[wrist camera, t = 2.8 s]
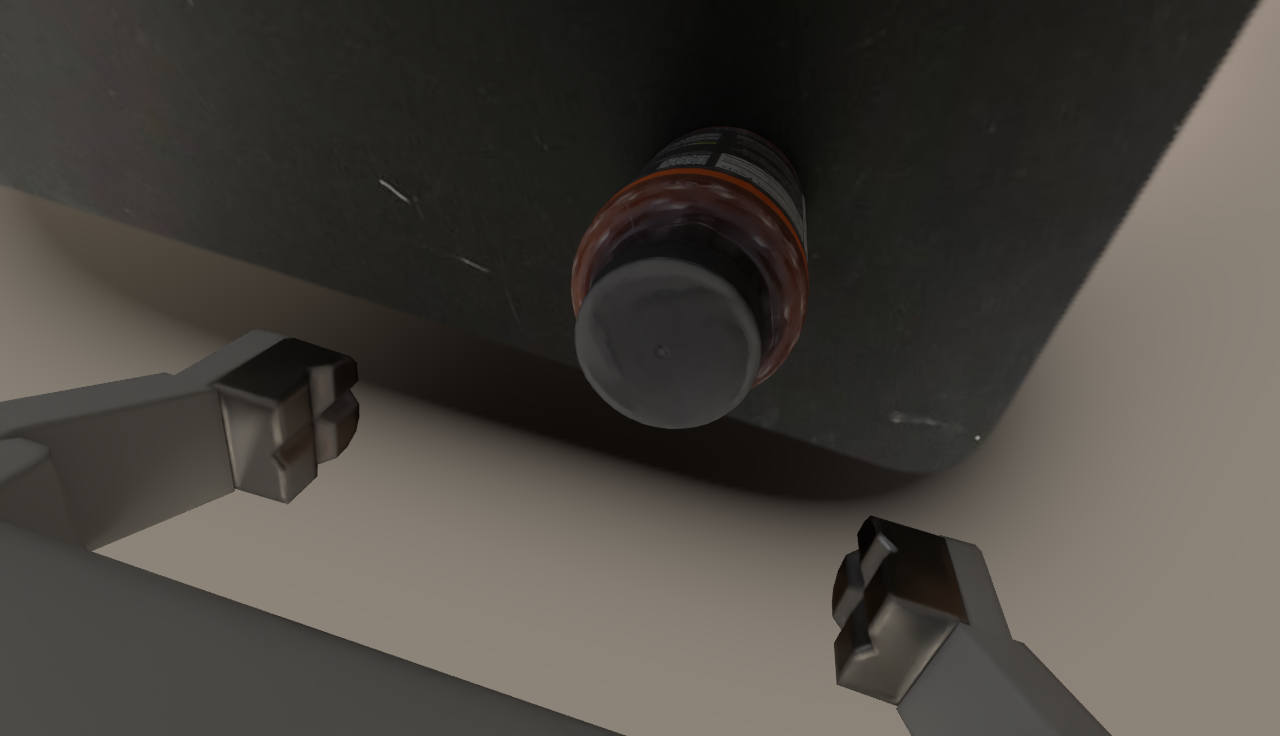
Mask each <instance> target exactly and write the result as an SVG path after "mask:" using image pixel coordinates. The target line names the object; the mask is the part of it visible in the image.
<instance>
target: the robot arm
mask: <svg viewBox="0 0 1280 736" xmlns="http://www.w3.org/2000/svg"><path fill="white" fill-rule="evenodd" d="M357 381H358V371H357V363H356V361H354V360H353V359H352V358H351V357H350V356H347V355H344V354H341V353H338V352H335V351H332V350H329V349H326V348H323V347H320V346H317V345H314V344H311V343H308V342H305V341H302V340H299V339H296V338H291V337H289V336H286V335H282V334H279V333H276V332H273V331H270V330H267V329H258V330H257V329H255V330H253V331H252V332H249V333H248V334H246V335H244V336H243V337H241V338H239V339H237V340H235V341H234V342H232V343H230V344H228V345H227V346H225V347H223V348H221V349H220V350H218V351H216V352H214V353H213V354H211V355H209V356H207V357H206V358H204V359H203V360H200V361H199V362H197V363H195V364H194V365H192V366H190V367H188V368H186V369H185V370H183V371H181V372H180V373H178V374H176V375H171V374H168V373H160V374H154V375H148V376H143V377H137V378H132V379H126V380H121V381H115V382H109V383H104V384H98V385H93V386H87V387H81V388H76V389H70V390H65V391H59V392H54V393H48V394H42V395H37V396H31V397H25V398H20V399H14V400H9V401H3V402H0V736H625V735H622V734H619V733H617V732H613V731H611V730H608V729H605V728H602V727H599V726H596V725H593V724H590V723H587V722H584V721H582V720H579V719H575V718H573V717H570V716H567V715H564V714H561V713H558V712H555V711H552V710H550V709H547V708H544V707H541V706H538V705H535V704H532V703H529V702H526V701H523V700H521V699H517V698H515V697H512V696H509V695H506V694H503V693H500V692H497V691H494V690H492V689H489V688H486V687H483V686H480V685H477V684H474V683H471V682H468V681H465V680H462V679H460V678H457V677H454V676H451V675H448V674H445V673H442V672H439V671H437V670H434V669H431V668H428V667H424V666H422V665H419V664H416V663H413V662H410V661H408V660H404V659H402V658H399V657H396V656H393V655H390V654H387V653H384V652H382V651H379V650H376V649H373V648H369V647H367V646H364V645H361V644H358V643H356V642H353V641H349V640H347V639H344V638H341V637H338V636H335V635H332V634H329V633H327V632H324V631H321V630H318V629H315V628H312V627H309V626H306V625H303V624H300V623H298V622H294V621H292V620H289V619H286V618H283V617H280V616H277V615H274V614H271V613H268V612H266V611H263V610H260V609H257V608H254V607H251V606H248V605H245V604H242V603H239V602H237V601H233V600H231V599H228V598H225V597H222V596H219V595H216V594H213V593H210V592H207V591H205V590H202V589H199V588H196V587H193V586H190V585H187V584H184V583H181V582H178V581H176V580H172V579H170V578H167V577H164V576H161V575H158V574H155V573H152V572H149V571H147V570H144V569H141V568H138V567H134V566H132V565H129V564H126V563H123V562H120V561H117V560H114V559H112V558H109V557H106V556H103V555H100V554H97V553H94V552H91V551H93V550H95V549H98V548H100V547H103V546H105V545H107V544H110V543H112V542H114V541H117V540H119V539H121V538H124V537H127V536H129V535H131V534H133V533H136V532H138V531H141V530H143V529H146V528H148V527H150V526H153V525H155V524H158V523H160V522H162V521H165V520H167V519H170V518H172V517H174V516H177V515H179V514H181V513H184V512H186V511H189V510H191V509H194V508H196V507H198V506H201V505H203V504H205V503H208V502H210V501H213V500H215V499H218V498H220V497H222V496H225V495H227V494H229V493H232V492H234V491H235V489H238V490H242V491H245V492H248V493H252V494H255V495H259V496H262V497H265V498H268V499H272V500H275V501H279V502H282V503H286V504H289V503H290V502H291V501H292V500H293V499H294V498H295V497H296V496H297V495H298V494H299V493H300V492H301V491H302V490H303V489H304V488H306V487H307V486H308V485H309V484H310V483H311V482H312V481H313V480H314V479H315V478H316V477H317V468H318V464H320V463H323V462H326V461H329V460H332V459H335V458H337V457H338V456H339V455H340V454H341V453H342V452H343V451H344V450H345V449H346V448H347V447H348V445H349V442H350V441H351V439H352V438H353V435H354V434H355V432H356V429H357V425H358V421H359V403H358V401H357V400H356V398H355V397H354V395H353V393H352V392H351V390H350V389H351V388H352V387H353V386H354V384H356V383H357ZM234 488H235V489H234ZM857 536H858V547H859V549H858V550H856V551H854V552H851V553H849V554H847V555H846V556H845V558H844V560H843V562H842V564H841V566H840V568H839V570H838V573H837V577H836V580H835V584H834V587H833V596H832V615H833V618H834V620H835V621H836V623H837V624H838V626H839V627H840V628H841V632H840V633H839V635H838V637H837V639H836V640H835V642H834V650H835V665H836V681H837V685H840V686H843V687H845V688H848V689H851V690H854V691H857V692H860V693H862V694H865V695H868V696H871V697H873V698H876V699H879V700H882V701H885V702H887V703H890V704H893V705H896V706H898V707H897V708H896V709H897V711H898V713H899V714H900V716H901V718H902V720H903V721H904V723H905V725H906V727H907V728H908V730H909V732H910V734H911V736H1112V735H1111V734H1110V733H1109V732H1108V731H1107V730H1106V729H1105V728H1104V727H1103V726H1102V725H1101V724H1100V723H1099V722H1098V721H1097V720H1096V719H1095V718H1094V717H1093V715H1092V714H1091V713H1090V712H1089V711H1088V710H1087V709H1086V708H1085V707H1084V706H1083V705H1082V704H1081V703H1080V702H1079V701H1078V700H1077V699H1076V698H1075V696H1074V695H1073V694H1072V693H1071V692H1070V691H1069V690H1068V689H1067V688H1066V687H1065V686H1064V685H1063V684H1062V683H1061V682H1060V681H1059V680H1058V679H1057V678H1056V677H1055V675H1053V673H1052V672H1051V671H1050V670H1049V669H1048V668H1047V667H1046V666H1045V665H1044V664H1043V663H1042V662H1041V661H1040V660H1039V659H1038V658H1037V657H1036V655H1035V654H1033V652H1032V651H1031V650H1030V649H1029V648H1028V647H1027V646H1026V645H1025V644H1024V643H1022V642H1019V641H1016V640H1013V639H1012V637H1011V634H1010V631H1009V628H1008V625H1007V623H1006V620H1005V617H1004V614H1003V611H1002V608H1001V605H1000V603H999V600H998V597H997V594H996V591H995V589H994V585H993V583H992V580H991V577H990V574H989V571H988V568H987V566H986V563H985V560H984V557H983V555H982V552H981V550H980V549H979V548H978V547H977V546H976V545H974V544H971V543H967V542H963V541H960V540H956V539H953V538H949V537H945V536H942V535H940V536H938V535H934V534H931V533H928V532H924V531H921V530H918V529H914V528H911V527H907V526H904V525H901V524H898V523H894V522H891V521H888V520H884V519H881V518H878V517H874V516H870V517H869V518H868V519H867V520H865V522H864V523H863V525H862V526H861V528H860V530H859V532H858V534H857Z"/></svg>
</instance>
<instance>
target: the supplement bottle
mask: <svg viewBox="0 0 1280 736" xmlns="http://www.w3.org/2000/svg"><path fill="white" fill-rule="evenodd" d="M808 283H809V275H808V254H807V231H806V209H805V201H804V196H803V191H802V186H801V184H800V180H799V178H798V176H797V173H796V171H795V169H794V168H793V166H792V164H791V163H790V162H789V160H788V159H787V158H786V156H785V155H784V154H783V153H782V152H781V151H780V150H779V149H778V148H777V147H776V146H775V145H773V144H772V143H771V142H769V141H768V140H766V139H764V138H763V137H761V136H759V135H757V134H755V133H753V132H750V131H747V130H745V129H742V128H733V127H726V126H725V127H717V126H716V127H708V128H703V129H699V130H696V131H693V132H691V133H688V134H685V135H684V136H682V137H680V138H677V139H675V140H674V141H672V142H671V143H670V144H668V145H667V146H666V147H664V148H663V149H662V150H661V151H659V152H658V153H657V155H656V156H655V157H653V158H652V159H651V160H650V161H649V162H648V163H647V164H646V165H645V166H644V167H643V168H642V169H641V170H640V171H639V172H638V173H637V174H636V175H635V176H634V177H633V178H632V179H631V180H630V181H629V182H628V183H627V184H626V185H624V186H623V187H622V189H621V190H619V191H618V192H617V193H616V194H615V195H614V196H613V197H612V198H611V199H610V200H609V201H608V203H607V204H606V205H605V206H604V207H603V208H602V209H601V210H600V211H599V212H598V213H597V215H596V216H595V217H594V219H593V221H592V222H591V224H590V225H589V227H588V228H587V230H586V232H585V234H584V236H583V237H582V240H581V242H580V244H579V247H578V249H577V252H576V256H575V259H574V262H573V269H572V277H571V295H572V302H573V308H574V313H575V317H576V324H575V346H576V353H577V357H578V360H579V363H580V366H581V368H582V370H583V372H584V374H585V377H586V378H587V380H588V381H589V382H590V384H591V385H592V387H593V388H594V389H595V390H596V392H597V393H598V394H599V395H600V396H601V397H602V398H603V399H604V400H605V401H606V402H607V403H609V404H610V405H611V406H612V407H613V408H614V409H616V410H617V411H619V412H621V413H622V414H624V415H625V416H627V417H629V418H632V419H634V420H636V421H638V422H640V423H643V424H646V425H650V426H656V427H662V428H670V429H677V428H690V427H696V426H700V425H704V424H707V423H710V422H712V421H715V420H717V419H719V418H720V417H722V416H724V415H725V414H727V413H728V412H730V411H731V410H733V409H734V408H735V407H736V406H738V405H739V403H740V402H741V401H742V400H743V399H744V398H745V397H746V396H747V394H748V392H749V391H750V389H752V388H754V387H755V386H757V385H758V384H760V383H762V382H763V381H765V380H766V379H767V378H769V377H770V376H771V375H772V374H773V373H775V372H776V370H777V369H778V368H779V367H780V366H781V365H782V364H783V363H784V362H785V360H786V359H787V358H788V356H789V354H790V353H791V352H792V351H793V348H794V346H795V344H796V342H797V341H798V338H799V335H800V333H801V329H802V326H803V324H804V321H805V316H806V312H807V304H808V291H809V284H808Z"/></svg>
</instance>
